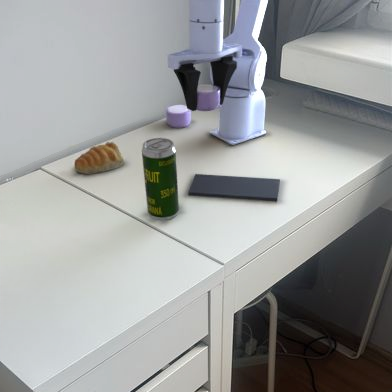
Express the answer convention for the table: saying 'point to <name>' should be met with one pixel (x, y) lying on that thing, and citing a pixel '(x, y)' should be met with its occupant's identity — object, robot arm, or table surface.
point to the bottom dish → (178, 116)
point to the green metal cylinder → (160, 178)
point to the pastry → (99, 159)
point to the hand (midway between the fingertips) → (205, 106)
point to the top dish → (207, 97)
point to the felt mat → (235, 187)
